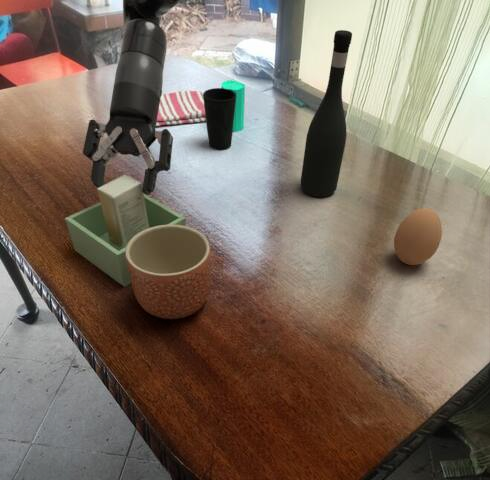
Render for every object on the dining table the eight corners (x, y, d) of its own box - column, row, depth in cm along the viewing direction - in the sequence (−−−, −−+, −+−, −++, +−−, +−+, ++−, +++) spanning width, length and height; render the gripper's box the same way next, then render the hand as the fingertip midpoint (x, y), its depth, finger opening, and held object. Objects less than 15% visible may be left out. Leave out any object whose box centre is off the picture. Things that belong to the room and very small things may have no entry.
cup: (239, 140, 115) (240, 90, 106) (230, 154, 110) (230, 102, 101) (210, 136, 116) (209, 86, 107) (200, 149, 111) (198, 97, 102)
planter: (120, 300, 74) (107, 246, 66) (179, 267, 80) (174, 214, 72) (167, 342, 68) (159, 288, 60) (227, 303, 74) (227, 250, 66)
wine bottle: (309, 176, 104) (332, 23, 82) (341, 186, 101) (373, 30, 79) (293, 191, 99) (313, 33, 77) (326, 202, 96) (356, 41, 74)
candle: (218, 123, 122) (218, 74, 113) (240, 121, 123) (241, 73, 114) (224, 132, 118) (224, 83, 109) (246, 130, 119) (248, 81, 110)
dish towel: (123, 105, 128) (121, 92, 125) (203, 97, 133) (202, 85, 131) (132, 130, 117) (130, 116, 114) (219, 121, 122) (219, 108, 120)
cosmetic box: (136, 233, 85) (126, 172, 76) (152, 242, 83) (143, 181, 75) (109, 248, 82) (95, 187, 73) (125, 258, 80) (112, 197, 71)
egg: (389, 272, 81) (407, 220, 73) (386, 246, 86) (402, 195, 78) (432, 277, 80) (455, 225, 73) (426, 251, 86) (447, 200, 78)
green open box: (124, 287, 76) (117, 255, 71) (74, 250, 82) (64, 218, 77) (188, 249, 84) (185, 217, 79) (137, 217, 90) (132, 186, 85)
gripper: (86, 74, 71) (70, 177, 72) (172, 84, 70) (155, 189, 70) (106, 97, 79) (91, 190, 79) (185, 107, 77) (169, 202, 78)
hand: (121, 190), depth 75 cm, fingers open, 8 cm apart
